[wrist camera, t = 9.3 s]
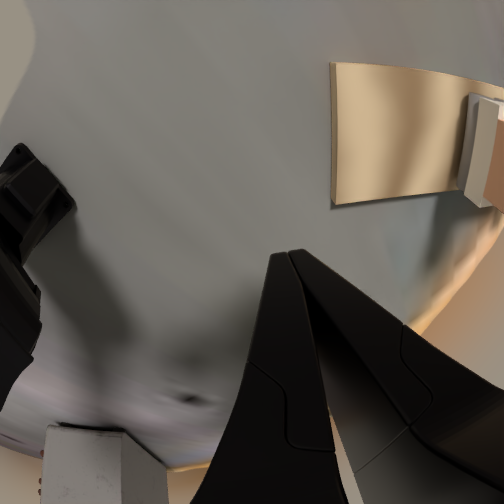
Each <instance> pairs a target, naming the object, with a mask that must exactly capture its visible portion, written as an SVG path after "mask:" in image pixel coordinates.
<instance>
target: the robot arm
mask: <svg viewBox="0 0 504 504" xmlns="http://www.w3.org/2000/svg"><path fill="white" fill-rule="evenodd" d="M18 148H20V149H21V153H20V152H19V150H18ZM65 202H68V203H69V205H67V204H66V203H65ZM73 205H74V201H73V199H72V198H71V197H70V195H69V194H68V193H67V192H66V191H65V190H64V189H63V188H62V187H61V186H60V185H59V184H58V181H57V180H56V179H55V178H54V177H53V176H52V175H51V174H50V173H49V171H48V170H47V169H46V168H45V167H44V166H43V165H42V163H41V162H40V161H39V160H38V159H36V158H35V156H34V155H33V154H32V153H31V152H30V150H29V149H28V148H27V147H26V146H25V145H24V144H23V143H19V144H17V145H16V146H15V147H14V148H13V149H12V151H11V152H10V154H9V155H8V156H7V158H6V159H5V161H4V162H3V164H2V165H1V167H0V412H1V410H2V408H3V405H4V403H5V401H6V398H7V396H8V394H9V391H10V389H11V387H12V385H13V384H14V382H15V381H16V379H17V378H18V377H19V375H20V374H21V372H22V371H23V370H24V369H25V368H27V367H28V366H29V365H30V364H31V363H32V362H33V360H34V358H33V356H32V355H31V354H32V352H33V350H34V348H35V346H36V343H37V340H38V338H39V335H40V332H41V329H42V323H41V321H40V320H39V319H40V298H41V291H40V289H39V288H38V286H37V285H34V283H33V282H32V280H31V279H30V277H29V276H28V274H27V273H26V271H25V270H24V268H23V265H24V263H25V262H26V260H27V258H28V256H29V255H30V253H31V251H32V250H33V248H35V246H36V245H37V244H38V243H39V242H40V241H41V240H42V239H43V238H44V237H45V235H46V234H47V233H48V232H49V231H50V230H51V229H52V228H53V227H54V226H55V225H56V224H57V223H58V222H59V221H60V220H61V219H62V218H63V217H64V216H65V215H66V214H67V213H68V212H69V211H70V210H71V208H72V207H73ZM327 403H328V405H327ZM328 406H329V409H330V411H331V414H332V417H333V419H334V422H335V425H336V427H337V430H338V433H339V436H340V438H341V441H342V444H343V446H344V449H345V452H346V455H347V457H348V460H349V463H350V465H351V468H352V471H353V473H354V477H355V480H356V483H357V485H358V488H359V491H360V494H361V497H362V500H363V502H364V504H504V390H503V389H500V388H498V387H496V386H494V385H492V384H491V383H490V382H488V381H486V380H485V379H483V378H482V377H480V376H479V375H477V374H476V373H474V372H473V371H471V370H469V369H468V368H466V367H465V366H463V365H462V364H460V363H458V362H457V361H455V360H454V359H452V358H451V357H449V356H447V355H446V354H445V353H443V352H442V351H440V350H439V349H437V348H436V347H434V346H433V345H432V344H430V343H429V342H428V341H426V340H425V339H424V338H422V337H421V336H420V335H418V334H417V333H416V332H414V331H413V330H412V329H410V328H409V327H408V326H407V325H403V323H402V322H401V321H400V320H399V319H397V318H396V317H395V316H393V315H392V314H391V313H390V312H388V311H387V310H386V309H384V308H383V307H382V306H380V305H379V304H378V303H376V302H375V301H374V300H372V299H371V298H370V297H369V296H367V295H366V294H365V293H363V292H362V291H361V290H359V289H358V288H357V287H355V286H354V285H353V284H351V283H350V282H348V281H347V280H346V279H344V278H343V277H342V276H340V275H339V274H338V273H336V272H335V271H334V270H332V269H331V268H330V267H328V266H327V265H325V264H324V263H323V262H321V261H320V260H319V259H317V258H316V257H314V256H313V255H312V254H310V253H309V252H308V251H306V250H305V249H297V250H291V251H289V252H288V253H287V252H279V253H274V254H271V255H270V259H269V264H268V268H267V273H266V277H265V282H264V287H263V291H262V296H261V300H260V305H259V309H258V314H257V318H256V322H255V327H254V331H253V336H252V340H251V344H250V349H249V353H248V358H247V363H246V365H245V369H244V374H243V378H242V381H241V385H240V389H239V392H238V396H237V399H236V402H235V405H234V408H233V410H232V413H231V416H230V419H229V421H228V424H227V426H226V429H225V431H224V433H223V436H222V438H221V440H220V443H219V445H218V447H217V450H216V452H215V454H214V457H213V459H212V461H211V464H210V466H209V468H208V470H207V473H206V475H205V477H204V479H203V481H202V483H201V485H200V487H199V489H198V491H197V492H196V494H195V496H194V497H193V499H192V500H191V502H190V504H349V503H348V499H347V496H346V494H345V491H344V488H343V485H342V481H341V477H340V473H339V468H338V463H337V458H336V454H335V445H334V439H333V434H332V427H331V422H330V416H329V411H328Z"/></svg>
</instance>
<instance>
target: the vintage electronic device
mask: <svg viewBox="0 0 504 504" xmlns="http://www.w3.org/2000/svg"><path fill="white" fill-rule="evenodd" d="M40 454H41V456H42V457H43V466H42V478H40V479H39V483H40V484H41V489H39V490H38V493H39V495H41V499H40V500H41V502H40V503H41V504H169V501H168V487H167V472H166V468H165V466H163V465H162V464H161V463H160V461H159V460H156V459H155V458H153V457H152V456H151V455H150V454H149V453H147V452H146V451H145V450H144V449H143V448H142V447H140V446H139V445H138V444H137V443H136V442H135V441H134V440H132V439H131V438H130V437H129V436H128V435H127V434H126V432H125V429H123V428H119V427H114V428H113V431H112V432H109V431H96V430H86V429H77V428H72V425H70V424H68V423H65V422H62V423H61V425H60V426H56V425H48V427H47V431H46V439H45V446H44V450H41V452H40Z"/></svg>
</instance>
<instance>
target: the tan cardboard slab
mask: <svg viewBox="0 0 504 504" xmlns="http://www.w3.org/2000/svg"><path fill="white" fill-rule="evenodd" d="M330 78H331V109H332V175H331V199H332V200H333V202H334V203H335V204H336V205H337V204H345V203H352V202H359V201H367V200H375V199H383V198H391V197H399V196H407V195H416V194H425V193H434V192H443V191H453V190H460V189H459V188H458V187H457V186H456V182H457V177H458V172H459V167H460V161H461V156H462V150H463V143H464V136H465V129H466V121H467V111H468V100H469V92H473V93H477V94H481V95H484V96H487V97H490V98H492V99H494V98H499V99H502V100H504V88H501V87H498V86H494V85H491V84H487V83H484V82H480V81H476V80H472V79H468V78H463V77H459V76H454V75H449V74H444V73H439V72H433V71H427V70H420V69H414V68H406V67H398V66H388V65H377V64H363V63H338V62H330Z"/></svg>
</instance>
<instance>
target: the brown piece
mask: <svg viewBox="0 0 504 504" xmlns="http://www.w3.org/2000/svg"><path fill="white" fill-rule="evenodd" d="M456 186H457V187H458V188H459V189H460V190H461V191H463V192H464V195H465V196H466V197H467V198H468V199H470V200H471V201H472V202H473V203H474V204H476V205H477V206H478V207H479V208H481V207H488V206H495V207H496V208H497V209H499V210H500V211H501V212H502V213H503V214H504V100H502V99H499V98H494V99H492V98H490V97H487V96H484V95H481V94H477V93H473V92H469V100H468V111H467V121H466V129H465V136H464V143H463V150H462V156H461V161H460V167H459V172H458V177H457V182H456Z"/></svg>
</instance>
